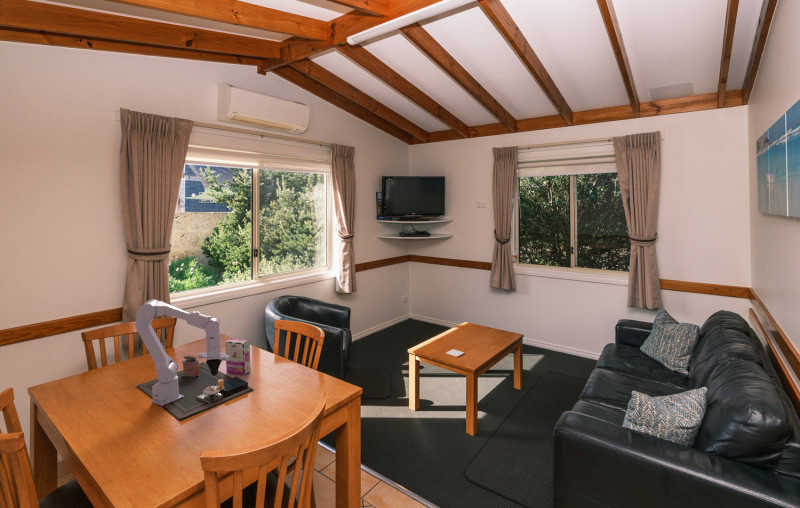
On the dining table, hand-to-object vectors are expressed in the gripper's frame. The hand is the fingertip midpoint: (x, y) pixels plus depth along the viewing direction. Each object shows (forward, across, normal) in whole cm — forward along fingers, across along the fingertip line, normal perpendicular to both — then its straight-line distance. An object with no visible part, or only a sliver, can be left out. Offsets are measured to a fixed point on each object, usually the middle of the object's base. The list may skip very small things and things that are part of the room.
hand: (214, 374), depth 179 cm
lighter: (+9, -24, +14) cm, 29 cm away
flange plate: (+6, +1, -3) cm, 7 cm away
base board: (+9, +1, -3) cm, 9 cm away
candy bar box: (+9, -4, +23) cm, 25 cm away
